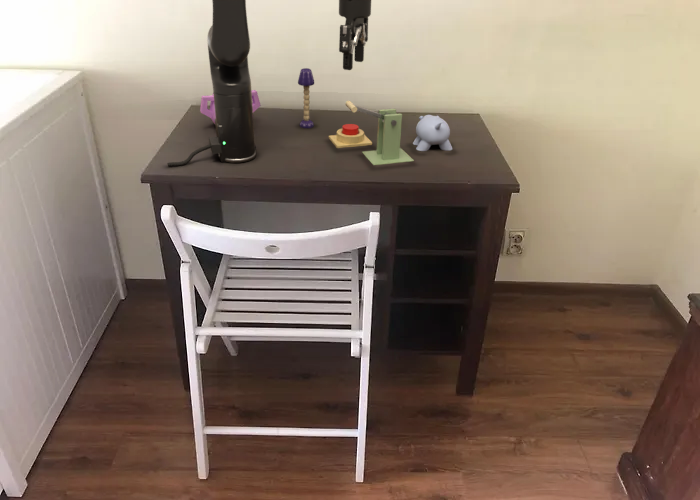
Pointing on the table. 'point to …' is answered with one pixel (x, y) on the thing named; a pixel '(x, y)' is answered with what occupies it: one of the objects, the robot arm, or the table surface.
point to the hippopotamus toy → (432, 133)
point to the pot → (211, 112)
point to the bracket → (388, 141)
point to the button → (350, 129)
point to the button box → (349, 139)
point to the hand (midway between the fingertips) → (353, 65)
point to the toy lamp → (306, 95)
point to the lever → (365, 110)
